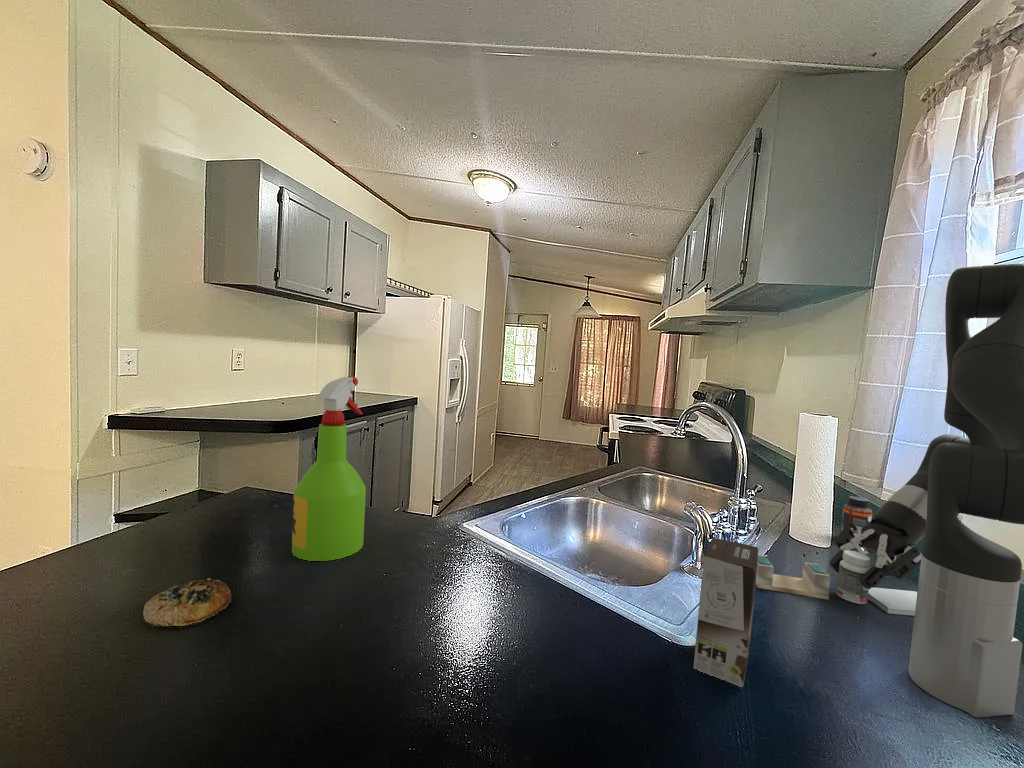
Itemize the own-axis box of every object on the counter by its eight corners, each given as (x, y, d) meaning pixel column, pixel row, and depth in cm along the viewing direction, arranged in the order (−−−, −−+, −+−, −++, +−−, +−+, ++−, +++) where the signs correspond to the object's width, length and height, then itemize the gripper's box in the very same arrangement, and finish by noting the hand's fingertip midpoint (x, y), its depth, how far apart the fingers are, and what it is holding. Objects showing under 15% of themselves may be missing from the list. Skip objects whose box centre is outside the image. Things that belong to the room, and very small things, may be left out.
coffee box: (744, 691, 58) (756, 569, 57) (691, 670, 61) (701, 554, 61) (750, 654, 66) (760, 546, 65) (703, 637, 69) (712, 534, 68)
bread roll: (236, 585, 75) (235, 558, 74) (226, 632, 66) (225, 601, 65) (154, 599, 71) (151, 570, 70) (130, 651, 61) (126, 619, 60)
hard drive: (888, 607, 80) (961, 613, 79) (855, 584, 88) (921, 590, 88) (887, 616, 80) (960, 623, 80) (854, 593, 88) (921, 598, 88)
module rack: (815, 584, 89) (817, 562, 89) (828, 599, 84) (831, 576, 83) (749, 573, 92) (751, 552, 92) (757, 587, 87) (759, 564, 86)
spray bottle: (383, 531, 102) (390, 377, 101) (342, 566, 85) (351, 380, 83) (327, 524, 104) (333, 373, 103) (276, 557, 86) (283, 375, 85)
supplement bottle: (875, 547, 112) (880, 502, 112) (851, 545, 112) (855, 501, 112) (857, 537, 118) (861, 495, 118) (834, 536, 118) (838, 494, 118)
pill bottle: (867, 607, 82) (874, 562, 81) (835, 597, 84) (841, 554, 84) (866, 598, 85) (872, 555, 85) (835, 588, 88) (841, 547, 88)
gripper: (862, 489, 92) (806, 547, 91) (939, 514, 78) (874, 582, 77) (881, 515, 93) (826, 572, 92) (961, 543, 79) (897, 611, 78)
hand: (848, 576), depth 84 cm, fingers open, 5 cm apart
